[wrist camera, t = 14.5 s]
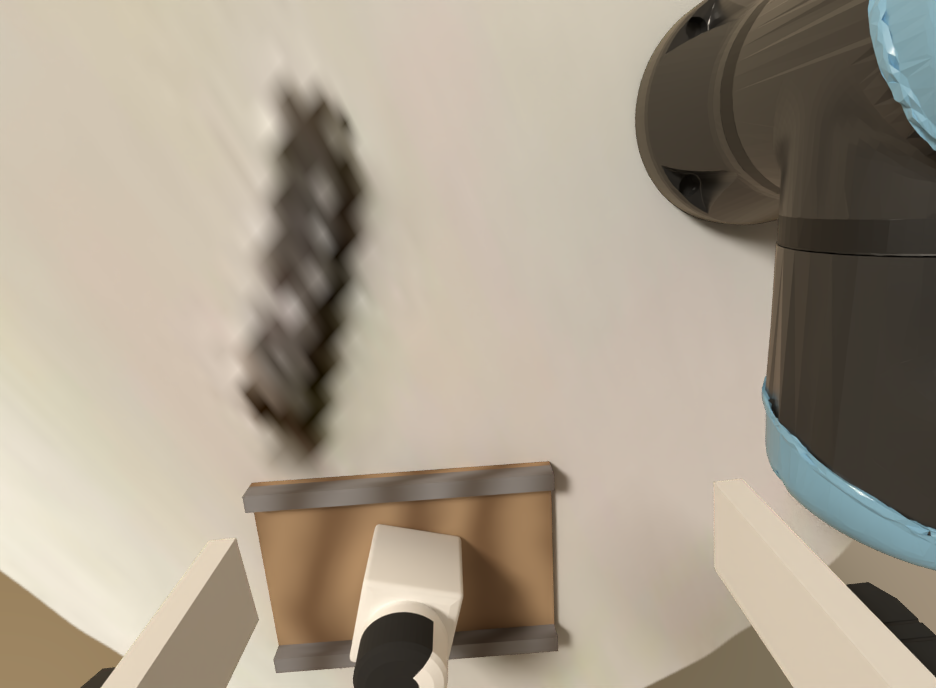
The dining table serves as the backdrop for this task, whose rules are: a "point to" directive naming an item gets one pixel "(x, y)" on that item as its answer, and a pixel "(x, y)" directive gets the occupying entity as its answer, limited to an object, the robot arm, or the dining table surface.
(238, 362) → the dining table surface
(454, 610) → the medicine bottle
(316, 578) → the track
